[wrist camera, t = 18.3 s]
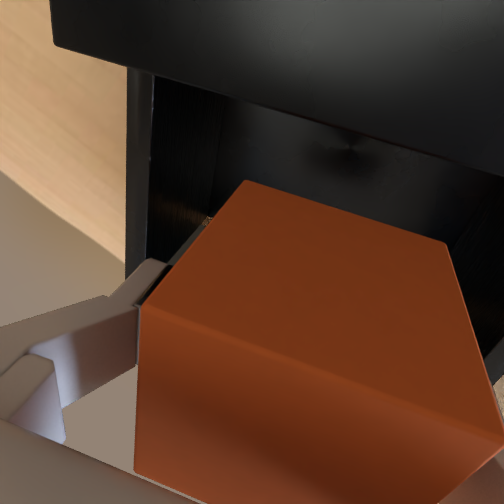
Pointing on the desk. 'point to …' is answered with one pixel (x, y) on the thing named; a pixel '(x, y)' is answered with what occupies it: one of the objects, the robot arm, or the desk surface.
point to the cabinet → (322, 62)
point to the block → (310, 363)
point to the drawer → (303, 186)
